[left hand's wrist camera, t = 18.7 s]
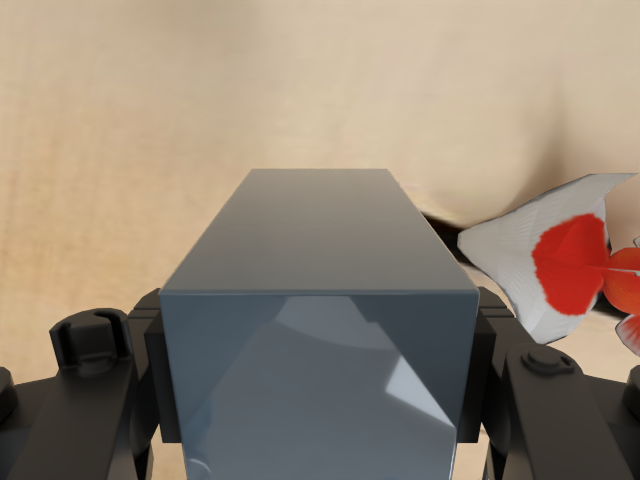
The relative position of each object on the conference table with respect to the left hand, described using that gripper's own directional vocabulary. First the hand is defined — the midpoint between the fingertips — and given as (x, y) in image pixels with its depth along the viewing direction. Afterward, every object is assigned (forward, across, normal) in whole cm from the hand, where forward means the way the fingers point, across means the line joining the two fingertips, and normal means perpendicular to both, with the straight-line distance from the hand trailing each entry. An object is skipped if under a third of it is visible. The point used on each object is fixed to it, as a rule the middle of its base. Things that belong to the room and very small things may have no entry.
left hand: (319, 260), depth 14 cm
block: (+2, 0, 0) cm, 2 cm away
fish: (+14, +16, -5) cm, 22 cm away
